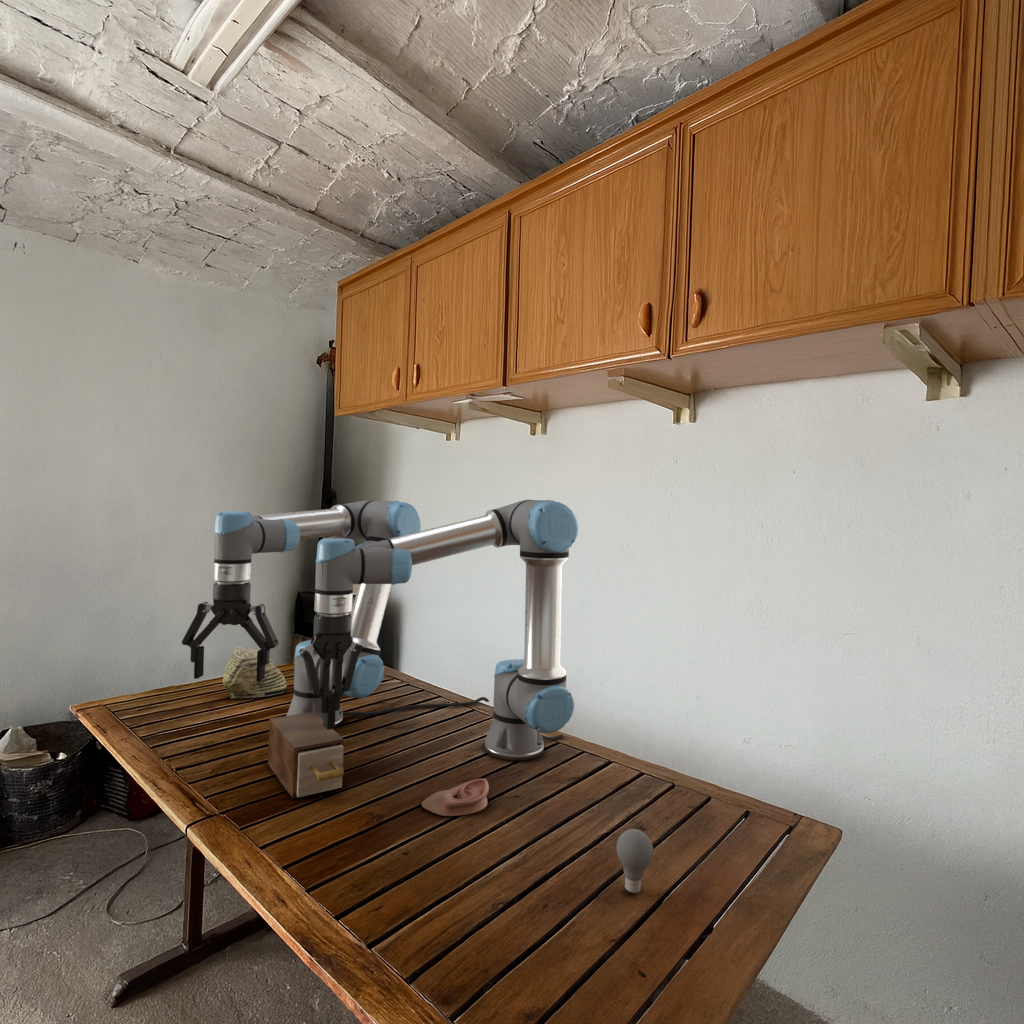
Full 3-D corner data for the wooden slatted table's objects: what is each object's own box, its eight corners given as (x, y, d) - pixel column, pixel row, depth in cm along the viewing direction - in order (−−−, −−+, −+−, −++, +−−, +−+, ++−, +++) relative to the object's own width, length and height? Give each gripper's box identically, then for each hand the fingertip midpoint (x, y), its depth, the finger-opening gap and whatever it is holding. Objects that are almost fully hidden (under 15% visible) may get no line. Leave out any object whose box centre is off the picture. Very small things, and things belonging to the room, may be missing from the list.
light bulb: (610, 879, 108) (613, 822, 108) (644, 879, 109) (647, 822, 109) (619, 902, 102) (622, 840, 102) (655, 901, 103) (658, 840, 103)
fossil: (218, 695, 195) (220, 647, 195) (278, 685, 208) (279, 640, 207) (228, 703, 189) (230, 653, 188) (289, 692, 201) (290, 645, 201)
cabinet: (341, 787, 138) (343, 738, 138) (292, 798, 132) (294, 747, 132) (312, 755, 155) (314, 711, 154) (267, 764, 149) (269, 718, 148)
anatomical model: (416, 792, 129) (434, 769, 140) (415, 812, 129) (434, 787, 140) (479, 801, 126) (493, 777, 137) (479, 821, 126) (492, 795, 137)
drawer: (352, 799, 131) (354, 756, 131) (307, 810, 126) (309, 765, 126) (314, 756, 152) (315, 719, 152) (274, 764, 146) (275, 726, 146)
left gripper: (165, 582, 135) (163, 680, 135) (283, 586, 135) (280, 685, 135) (184, 577, 142) (181, 671, 143) (295, 581, 142) (292, 675, 143)
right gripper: (306, 618, 124) (302, 738, 124) (370, 614, 131) (366, 727, 132) (295, 612, 130) (291, 726, 130) (356, 608, 137) (352, 716, 138)
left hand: (229, 678), depth 139 cm, fingers open, 13 cm apart
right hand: (328, 726), depth 131 cm, fingers closed
